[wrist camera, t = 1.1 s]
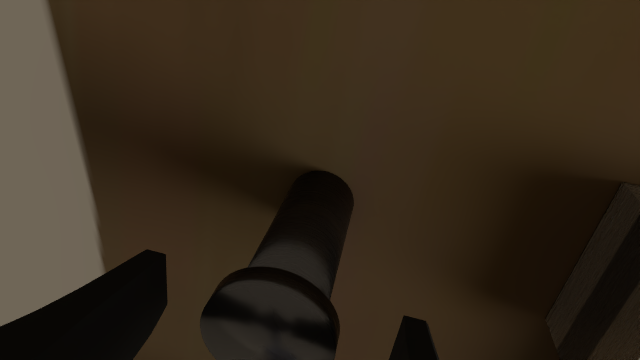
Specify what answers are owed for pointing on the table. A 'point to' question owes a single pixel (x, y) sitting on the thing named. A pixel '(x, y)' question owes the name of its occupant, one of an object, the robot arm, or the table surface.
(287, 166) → the table surface
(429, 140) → the table surface
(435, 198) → the table surface
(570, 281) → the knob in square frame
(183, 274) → the table surface
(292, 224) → the round dark gray knob
